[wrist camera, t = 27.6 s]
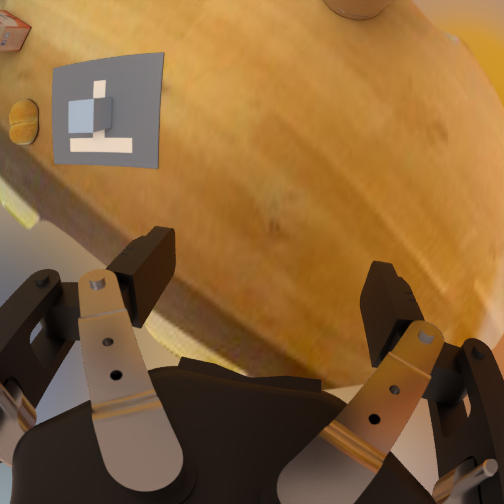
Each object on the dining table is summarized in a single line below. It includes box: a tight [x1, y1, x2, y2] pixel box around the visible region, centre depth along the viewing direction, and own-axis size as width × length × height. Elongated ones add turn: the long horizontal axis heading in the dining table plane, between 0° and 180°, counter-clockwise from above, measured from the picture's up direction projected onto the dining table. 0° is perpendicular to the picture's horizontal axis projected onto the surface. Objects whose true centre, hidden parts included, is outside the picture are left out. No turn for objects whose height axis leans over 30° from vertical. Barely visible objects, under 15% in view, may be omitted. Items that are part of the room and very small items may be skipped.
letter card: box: [52, 52, 164, 169], centre depth 40 cm, size 18×22×1 cm
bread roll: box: [9, 99, 38, 145], centre depth 40 cm, size 8×9×4 cm
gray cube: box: [68, 97, 112, 133], centre depth 38 cm, size 5×5×5 cm
